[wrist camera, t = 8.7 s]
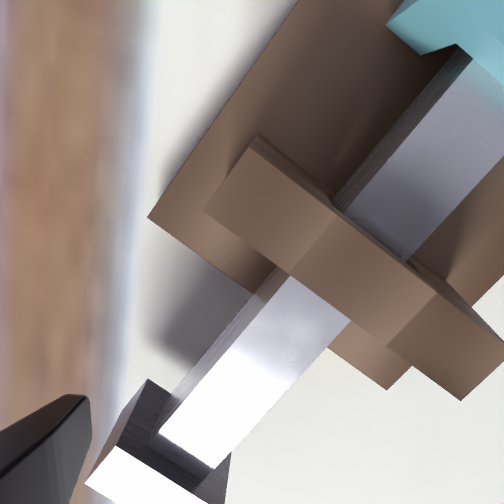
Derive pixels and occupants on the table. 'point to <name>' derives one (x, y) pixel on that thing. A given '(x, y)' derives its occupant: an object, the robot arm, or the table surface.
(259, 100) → the shaft bracket
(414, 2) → the block
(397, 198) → the shaft
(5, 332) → the table surface
